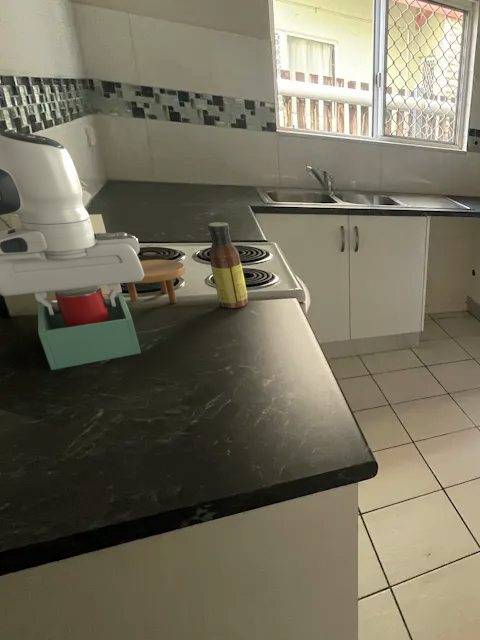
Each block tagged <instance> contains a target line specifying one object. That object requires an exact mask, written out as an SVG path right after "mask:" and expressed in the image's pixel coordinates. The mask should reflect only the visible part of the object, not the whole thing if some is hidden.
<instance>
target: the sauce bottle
mask: <svg viewBox="0 0 480 640" xmlns="http://www.w3.org/2000/svg"><path fill="white" fill-rule="evenodd" d="M207 228H208V231H209V234H210V238H211V246H210V249H209V252H208V255H209V262H210V268H211V273H212V276H213V282H214V287H215V289H216V295H217V299H218V301H219V304H220V307H222V308H224V309H239V308H243V307H245V306H247V305H248V302H249V301H248V291H247V286H246V280H245V275H244V271H243V266H242V262H241V259H240V253H239V249H238V248H236V245H234V244H233V242H232V239H231V236H230V226H229V223H228V222H220V221H215V222H210V223H208V224H207Z"/></svg>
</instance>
